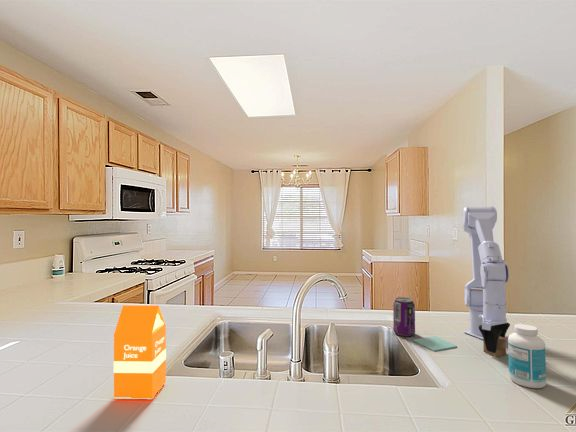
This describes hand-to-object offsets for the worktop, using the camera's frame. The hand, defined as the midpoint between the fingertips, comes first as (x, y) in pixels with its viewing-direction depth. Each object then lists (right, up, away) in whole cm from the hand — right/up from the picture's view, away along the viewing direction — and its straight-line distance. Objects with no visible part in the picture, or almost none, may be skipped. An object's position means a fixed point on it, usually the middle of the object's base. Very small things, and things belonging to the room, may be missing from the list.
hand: (494, 349), depth 98 cm
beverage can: (-21, -2, +17) cm, 27 cm away
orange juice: (-96, -2, -20) cm, 98 cm away
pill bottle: (-3, -2, -17) cm, 17 cm away
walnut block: (0, -1, 0) cm, 1 cm away
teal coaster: (-14, -2, +8) cm, 16 cm away
